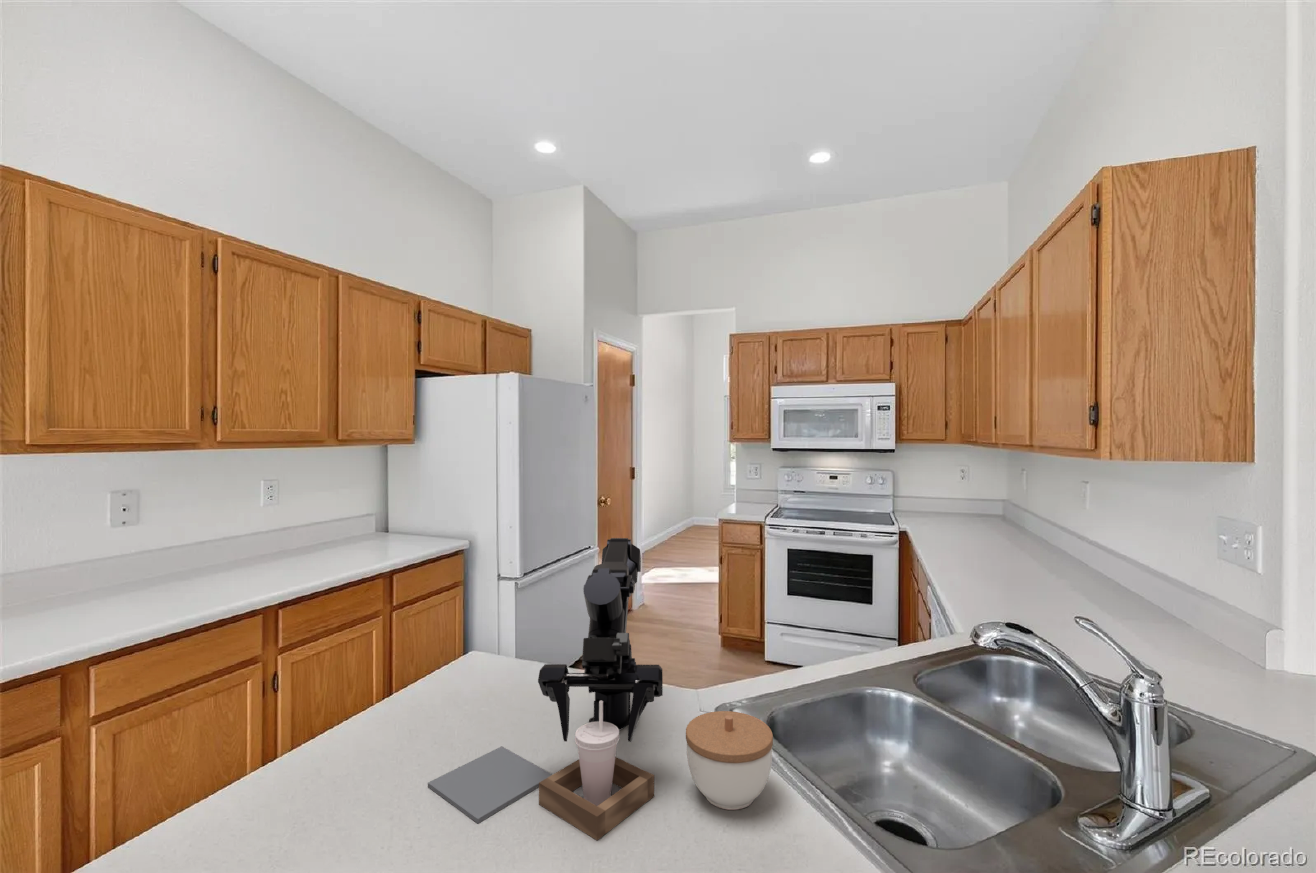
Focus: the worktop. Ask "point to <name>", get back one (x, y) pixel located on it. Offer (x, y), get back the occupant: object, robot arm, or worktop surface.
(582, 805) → the walnut holder
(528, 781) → the slate mat
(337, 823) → the worktop surface
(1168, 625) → the worktop surface
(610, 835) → the worktop surface
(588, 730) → the smoothie
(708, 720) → the lidded bowl
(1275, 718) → the worktop surface
